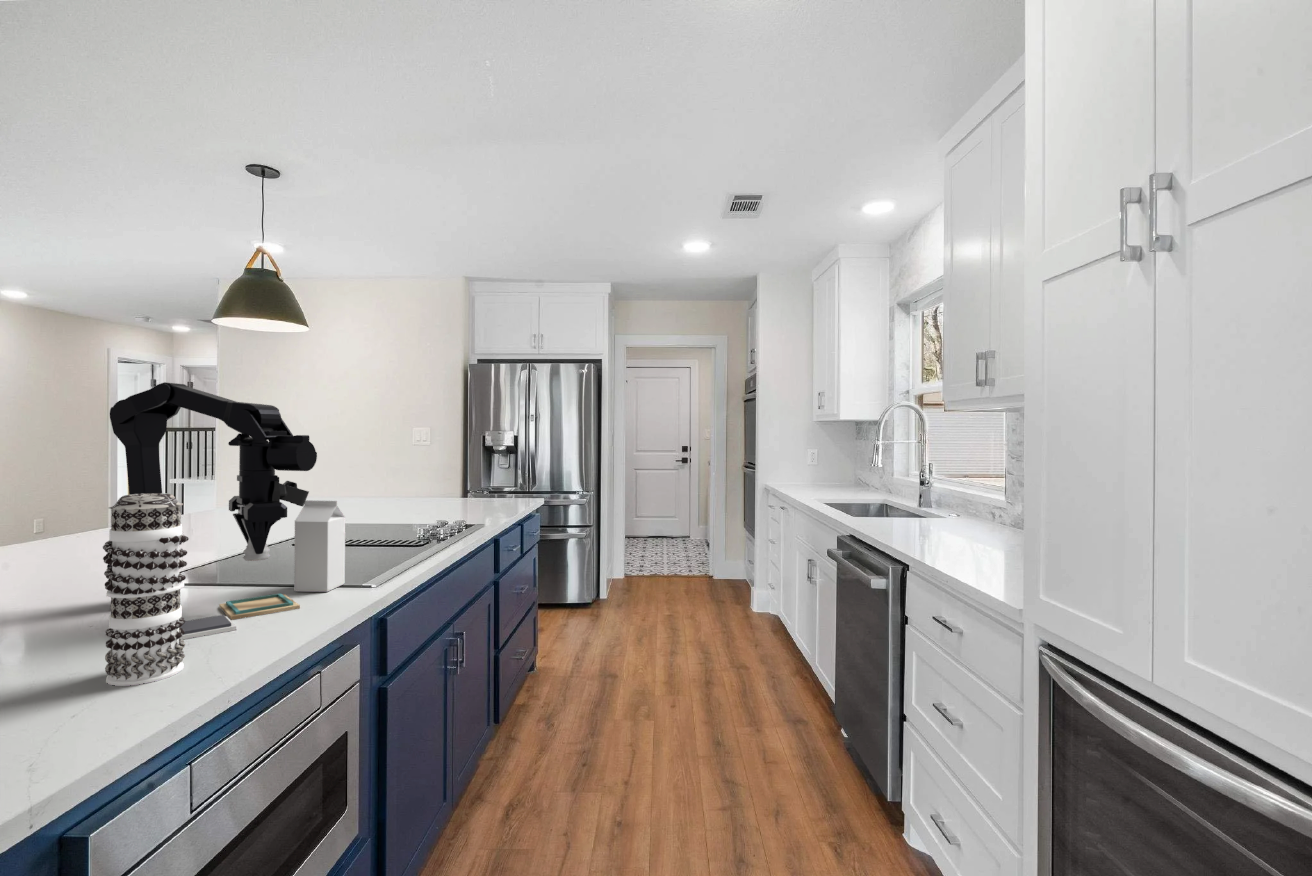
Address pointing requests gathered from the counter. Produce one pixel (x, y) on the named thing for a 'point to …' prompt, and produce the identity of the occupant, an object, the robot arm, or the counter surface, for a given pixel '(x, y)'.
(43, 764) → the counter surface
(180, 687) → the counter surface
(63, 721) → the counter surface
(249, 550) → the rook chess piece
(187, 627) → the ink pad
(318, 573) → the milk carton
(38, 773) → the counter surface
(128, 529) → the decorative candle
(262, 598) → the print board
